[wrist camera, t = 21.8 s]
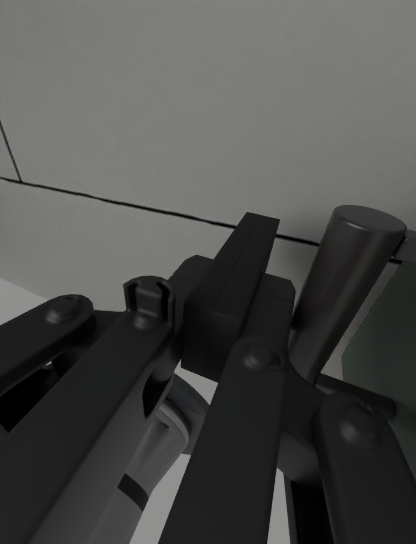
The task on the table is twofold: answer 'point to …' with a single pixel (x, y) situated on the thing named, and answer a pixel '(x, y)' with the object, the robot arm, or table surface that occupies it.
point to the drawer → (377, 325)
